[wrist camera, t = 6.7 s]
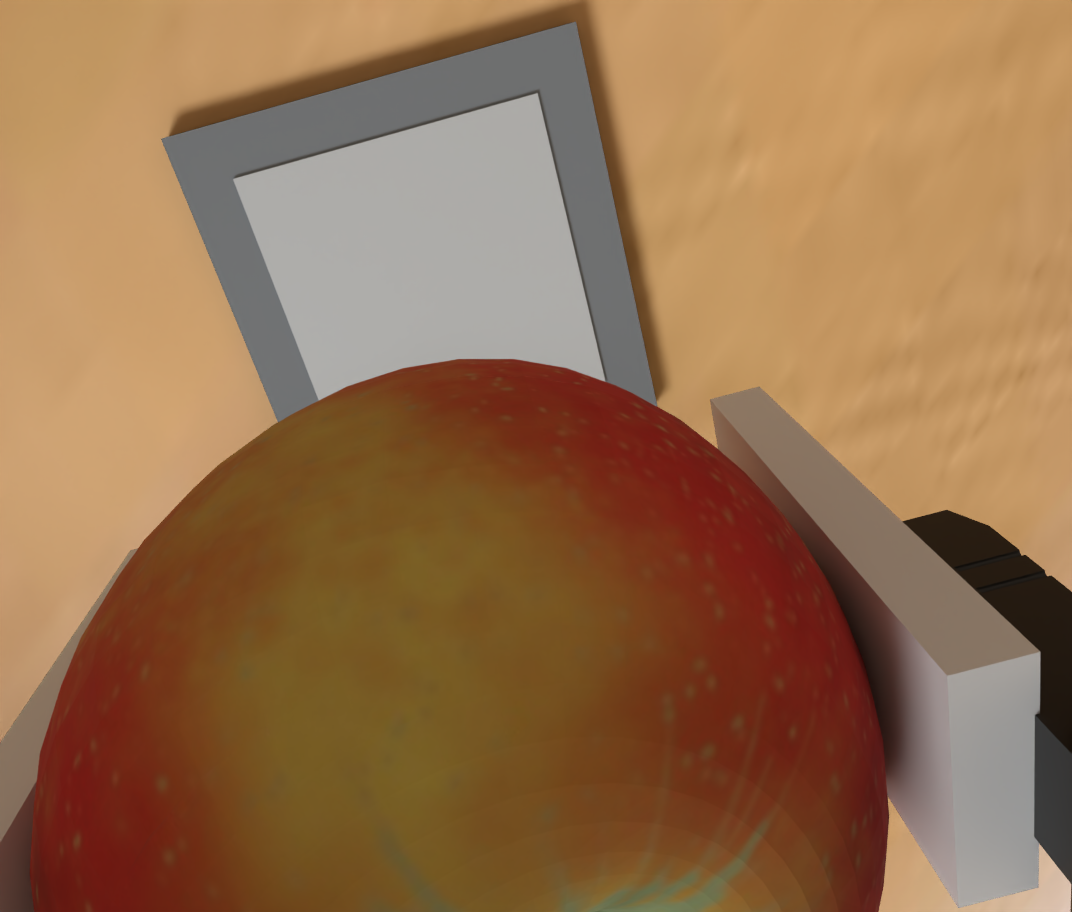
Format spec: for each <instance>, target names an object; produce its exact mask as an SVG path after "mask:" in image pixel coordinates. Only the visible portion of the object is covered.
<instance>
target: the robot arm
mask: <svg viewBox="0 0 1072 912" xmlns="http://www.w3.org/2000/svg"><path fill="white" fill-rule="evenodd" d="M710 402H711V408H712V415H713V421H714V427H715V433H716V439H717V445H718V450H719V451H721V452H722V453H723V454H724V455H726V456H727V457H728V458H729V459H730V460H731V461H733V462H734V463H735V464H736V465H737V466H738V467H739V468H741V469H742V470H743V471H744V472H745V473H746V474H747V475H748V476H749V477H750V478H751V479H752V481H753V482H754V483H755V484H756V485H757V486H758V487H759V488H760V489H761V490H762V491H763V493H764V494H765V495H766V496H767V497H768V498H769V499H770V500H771V501H772V502H773V503H774V505H775V506H776V507H777V508H778V509H779V510H780V511H781V512H782V513H783V515H784V516H785V517H786V519H787V520H788V521H789V523H790V524H791V525H792V527H793V528H794V530H795V531H796V532H797V534H798V535H799V536H800V538H801V539H802V540H803V542H804V544H805V545H806V547H807V548H808V550H809V551H810V553H811V555H812V556H813V558H814V559H815V561H816V563H817V564H818V566H819V567H820V569H821V570H822V572H823V574H824V575H825V577H826V578H827V580H828V582H829V583H830V585H831V587H832V589H833V591H834V593H835V595H836V598H837V600H838V602H839V604H840V606H841V608H842V611H843V613H844V615H845V617H846V620H847V622H848V624H849V627H850V629H851V632H852V634H853V637H854V639H855V642H856V644H857V646H858V649H859V651H860V654H861V656H862V659H863V661H864V664H865V668H866V671H867V675H868V679H869V683H870V687H871V691H872V695H873V699H874V704H875V708H876V712H877V716H878V721H879V725H880V729H881V734H882V738H883V743H884V757H885V771H886V784H887V795H888V797H889V799H890V800H891V802H892V803H893V805H894V807H895V808H896V810H897V811H898V813H899V814H900V816H901V818H902V819H903V821H904V822H905V824H906V826H907V827H908V829H909V830H910V832H911V834H912V835H913V837H914V838H915V840H916V842H917V843H918V845H919V846H920V848H921V850H922V851H923V853H924V854H925V856H926V857H927V859H928V861H929V862H930V864H931V865H932V867H933V869H934V870H935V872H936V873H937V875H938V877H939V878H940V880H941V881H942V883H943V885H944V886H945V888H946V889H947V891H948V892H949V894H950V896H951V897H952V899H953V900H954V902H955V904H956V905H957V907H958V908H960V907H964V906H968V905H972V904H976V903H980V902H984V901H988V900H991V899H995V898H999V897H1003V896H1007V895H1011V894H1015V893H1019V892H1022V891H1026V890H1030V889H1034V888H1038V875H1039V843H1040V845H1041V846H1042V847H1043V849H1044V850H1045V851H1046V852H1047V854H1048V855H1049V856H1050V857H1051V859H1052V860H1053V861H1054V862H1055V864H1056V865H1057V866H1058V868H1059V869H1060V870H1061V871H1062V873H1063V874H1064V875H1065V876H1066V878H1067V879H1068V880H1069V881H1070V883H1071V912H1072V592H1071V591H1070V590H1069V589H1067V588H1066V587H1065V586H1064V585H1062V584H1061V583H1060V582H1059V581H1057V580H1056V579H1055V578H1054V577H1052V576H1046V574H1045V570H1044V569H1042V568H1041V567H1040V566H1039V565H1037V564H1036V563H1035V562H1034V561H1032V560H1031V559H1030V558H1029V557H1027V556H1026V555H1023V556H1021V554H1020V551H1019V549H1017V548H1016V547H1015V546H1014V545H1012V544H1011V543H1010V542H1009V541H1007V540H1006V539H1005V538H1004V537H1002V536H1001V535H1000V534H999V533H997V532H996V531H995V530H994V529H992V528H991V527H990V526H988V525H985V524H983V523H980V522H977V521H975V520H972V519H970V518H967V517H964V516H962V515H959V514H956V513H954V512H951V511H948V510H944V511H941V512H937V513H933V514H929V515H925V516H921V517H918V518H914V519H910V520H906V521H901V520H900V519H899V518H898V517H897V516H896V515H895V514H894V513H893V512H892V511H891V510H890V509H888V508H887V507H886V506H885V505H884V504H883V503H882V502H881V501H880V500H879V499H878V498H877V497H876V496H875V495H874V494H873V493H872V492H870V491H869V490H868V489H867V488H866V487H865V486H864V485H863V484H862V483H861V482H860V481H859V480H858V479H857V478H856V477H855V476H854V475H852V474H851V473H850V472H849V471H848V470H847V469H846V468H845V467H844V466H843V465H842V464H841V463H840V462H839V461H838V460H837V459H835V458H834V457H833V456H832V455H831V454H830V453H829V452H828V451H827V450H826V449H825V448H824V447H823V446H822V445H821V444H820V443H819V442H817V441H816V440H815V439H814V438H813V437H812V436H811V435H810V434H809V433H808V432H807V431H806V430H805V429H804V428H803V427H802V426H800V425H799V424H798V423H797V422H796V421H795V420H794V419H793V418H792V417H791V416H790V415H789V414H788V413H787V412H786V411H785V410H784V409H782V408H781V407H780V406H779V405H778V404H777V403H776V402H775V401H774V400H773V399H772V398H771V397H770V396H769V395H768V394H767V393H766V392H764V391H763V390H762V389H761V388H760V387H756V388H752V389H748V390H744V391H740V392H737V393H733V394H729V395H725V396H721V397H717V398H714V399H710ZM137 550H138V549H134V550H131V551H130V552H129V553H128V555H127V556H126V558H125V559H124V561H123V562H122V564H121V565H120V567H119V568H118V570H117V571H116V573H115V574H114V576H113V577H112V579H111V580H110V581H109V583H108V584H107V586H106V587H105V589H104V590H103V592H102V593H101V595H100V596H99V598H98V599H97V601H96V602H95V604H94V605H93V607H92V608H91V610H90V611H89V612H88V614H87V615H86V617H85V618H84V620H83V621H82V623H81V624H80V626H79V627H78V629H77V630H76V632H75V633H74V635H73V636H72V638H71V639H70V640H69V642H68V643H67V645H66V646H65V648H64V649H63V651H62V652H61V654H60V655H59V657H58V658H57V660H56V661H55V663H54V664H53V666H52V667H51V669H50V670H49V671H48V673H47V674H46V676H45V677H44V679H43V680H42V682H41V683H40V685H39V686H38V688H37V689H36V691H35V692H34V694H33V695H32V697H31V698H30V700H29V701H28V702H27V704H26V705H25V707H24V708H23V710H22V711H21V713H20V714H19V716H18V717H17V719H16V720H15V722H14V723H13V725H12V726H11V728H10V729H9V730H8V732H7V733H6V735H5V736H4V738H3V739H2V741H1V742H0V912H34V906H33V897H32V889H31V881H30V858H31V843H32V827H33V811H34V800H35V791H36V783H37V774H38V765H39V756H40V751H41V748H42V745H43V741H44V738H45V735H46V732H47V729H48V726H49V722H50V719H51V716H52V713H53V710H54V707H55V704H56V700H57V697H58V694H59V691H60V688H61V685H62V682H63V680H64V677H65V675H66V672H67V670H68V668H69V665H70V663H71V660H72V658H73V655H74V653H75V651H76V648H77V646H78V643H79V641H80V638H81V637H82V635H83V633H84V632H85V630H86V628H87V627H88V625H89V623H90V622H91V620H92V618H93V617H94V615H95V614H96V612H97V610H98V609H99V607H100V605H101V604H102V602H103V600H104V599H105V597H106V595H107V594H108V592H109V591H110V589H111V587H112V586H113V584H114V582H115V581H116V579H117V577H118V576H119V574H120V573H121V572H122V570H123V569H124V567H125V566H126V565H127V563H128V562H129V561H130V559H131V558H132V556H133V555H134V554H135V552H136V551H137Z"/></svg>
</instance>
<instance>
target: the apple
mask: <svg viewBox="0 0 1072 912" xmlns="http://www.w3.org/2000/svg"><path fill="white" fill-rule="evenodd" d="M888 824H889V810H888V797H887V784H886V771H885V757H884V743H883V738H882V734H881V729H880V725H879V721H878V716H877V712H876V708H875V704H874V699H873V695H872V691H871V687H870V683H869V679H868V675H867V671H866V668H865V664H864V661H863V659H862V656H861V654H860V651H859V649H858V646H857V644H856V642H855V639H854V637H853V634H852V632H851V629H850V627H849V624H848V622H847V620H846V617H845V615H844V613H843V611H842V608H841V606H840V604H839V602H838V600H837V598H836V595H835V593H834V591H833V589H832V587H831V585H830V583H829V582H828V580H827V578H826V577H825V575H824V574H823V572H822V570H821V569H820V567H819V566H818V564H817V563H816V561H815V559H814V558H813V556H812V555H811V553H810V551H809V550H808V548H807V547H806V545H805V544H804V542H803V540H802V539H801V538H800V536H799V535H798V534H797V532H796V531H795V530H794V528H793V527H792V525H791V524H790V523H789V521H788V520H787V519H786V517H785V516H784V515H783V513H782V512H781V511H780V510H779V509H778V508H777V507H776V506H775V505H774V503H773V502H772V501H771V500H770V499H769V498H768V497H767V496H766V495H765V494H764V493H763V491H762V490H761V489H760V488H759V487H758V486H757V485H756V484H755V483H754V482H753V481H752V479H751V478H750V477H749V476H748V475H747V474H746V473H745V472H744V471H743V470H742V469H741V468H739V467H738V466H737V465H736V464H735V463H734V462H733V461H731V460H730V459H729V458H728V457H727V456H726V455H724V454H723V453H722V452H721V451H719V450H718V449H717V448H716V447H714V446H713V445H712V444H711V443H709V442H708V441H707V440H705V439H704V438H703V437H702V436H700V435H699V434H698V433H697V432H695V431H694V430H693V429H691V428H690V427H689V426H688V425H686V424H685V423H684V422H682V421H681V420H680V419H678V418H676V417H675V416H673V415H671V414H669V413H667V412H666V411H664V410H662V409H660V408H658V407H657V406H655V405H653V404H651V403H649V402H648V401H646V400H644V399H642V398H640V397H639V396H637V395H635V394H633V393H631V392H629V391H627V390H625V389H623V388H620V387H618V386H616V385H613V384H611V383H608V382H605V381H602V380H599V379H596V378H593V377H591V376H588V375H585V374H582V373H579V372H576V371H574V370H571V369H568V368H564V367H558V366H552V365H546V364H540V363H535V362H529V361H523V360H517V359H456V360H450V361H444V362H438V363H431V364H425V365H419V366H413V367H407V368H402V369H399V370H396V371H393V372H390V373H387V374H383V375H380V376H377V377H374V378H371V379H368V380H365V381H362V382H359V383H356V384H353V385H350V386H347V387H345V388H343V389H341V390H339V391H337V392H335V393H333V394H331V395H329V396H327V397H325V398H323V399H321V400H319V401H317V402H315V403H313V404H311V405H309V406H307V407H305V408H303V409H301V410H299V411H297V412H295V413H293V414H292V415H290V416H288V417H286V418H285V419H283V420H281V421H280V422H278V423H276V424H274V425H273V426H271V427H270V428H269V429H267V430H266V431H264V432H263V433H262V434H260V435H259V436H258V437H256V438H255V439H253V440H252V441H251V442H249V443H248V444H247V445H245V446H244V447H242V448H241V449H240V450H238V451H237V452H236V453H234V454H233V455H231V456H230V457H229V458H227V459H226V460H225V461H223V462H222V463H220V464H219V465H218V466H217V467H216V468H215V469H214V470H213V471H212V472H210V473H209V474H208V475H207V476H206V477H205V478H204V479H203V480H202V481H201V482H200V483H199V484H198V485H197V486H195V487H194V488H193V489H192V490H191V492H190V493H189V494H188V495H187V496H186V497H185V498H184V499H183V500H182V501H181V502H180V503H179V504H178V505H177V506H176V507H175V508H174V509H173V510H172V511H171V513H170V514H169V515H168V516H167V517H166V518H165V519H164V520H163V521H162V522H161V523H160V524H159V525H158V526H157V527H156V528H155V529H154V530H153V531H152V533H151V534H150V535H149V536H148V537H147V538H146V539H145V540H144V541H143V543H142V544H141V545H140V547H139V548H138V550H137V551H136V552H135V554H134V555H133V556H132V558H131V559H130V561H129V562H128V563H127V565H126V566H125V567H124V569H123V570H122V572H121V573H120V574H119V576H118V577H117V579H116V581H115V582H114V584H113V586H112V587H111V589H110V591H109V592H108V594H107V595H106V597H105V599H104V600H103V602H102V604H101V605H100V607H99V609H98V610H97V612H96V614H95V615H94V617H93V618H92V620H91V622H90V623H89V625H88V627H87V628H86V630H85V632H84V633H83V635H82V637H81V638H80V641H79V643H78V646H77V648H76V651H75V653H74V655H73V658H72V660H71V663H70V665H69V668H68V670H67V672H66V675H65V677H64V680H63V682H62V685H61V688H60V691H59V694H58V697H57V700H56V704H55V707H54V710H53V713H52V716H51V719H50V722H49V726H48V729H47V732H46V735H45V738H44V741H43V745H42V748H41V751H40V756H39V765H38V774H37V783H36V791H35V800H34V811H33V827H32V843H31V858H30V881H31V889H32V897H33V906H34V912H878V911H879V906H880V901H881V896H882V891H883V885H884V874H885V863H886V851H887V837H888Z"/></svg>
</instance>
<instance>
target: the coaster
mask: <svg viewBox="0 0 1072 912" xmlns="http://www.w3.org/2000/svg"><path fill="white" fill-rule="evenodd" d="M161 140H162V142H163V145H164V147H165V150H166V152H167V154H168V157H169V159H170V162H171V164H172V167H173V169H174V171H175V174H176V176H177V179H178V181H179V183H180V186H181V188H182V191H183V193H184V196H185V198H186V200H187V203H188V205H189V208H190V210H191V212H192V215H193V217H194V220H195V222H196V225H197V227H198V229H199V232H200V234H201V237H202V239H203V242H204V244H205V246H206V249H207V251H208V254H209V256H210V258H211V261H212V263H213V266H214V268H215V271H216V273H217V275H218V278H219V280H220V283H221V285H222V287H223V290H224V292H225V295H226V297H227V300H228V302H229V304H230V307H231V309H232V312H233V314H234V317H235V319H236V321H237V324H238V326H239V329H240V331H241V333H242V336H243V338H244V341H245V343H246V346H247V348H248V350H249V353H250V355H251V358H252V360H253V362H254V365H255V367H256V370H257V372H258V375H259V377H260V379H261V382H262V384H263V387H264V389H265V392H266V394H267V396H268V399H269V401H270V404H271V406H272V408H273V411H274V413H275V416H276V418H277V421H278V422H280V421H281V420H283V419H285V418H286V417H288V416H290V415H292V414H293V413H295V412H297V411H299V410H301V409H303V408H305V407H307V406H309V405H311V404H313V403H315V402H317V401H319V400H321V399H323V398H325V397H327V396H329V395H331V394H333V393H335V392H337V391H339V390H341V389H343V388H345V387H347V386H350V385H353V384H356V383H359V382H362V381H365V380H368V379H371V378H374V377H377V376H380V375H383V374H387V373H390V372H393V371H396V370H399V369H402V368H407V367H413V366H419V365H425V364H431V363H438V362H444V361H450V360H456V359H517V360H523V361H529V362H535V363H540V364H546V365H552V366H558V367H564V368H568V369H571V370H574V371H576V372H579V373H582V374H585V375H588V376H591V377H593V378H596V379H599V380H602V381H605V382H608V383H611V384H613V385H616V386H618V387H620V388H623V389H625V390H627V391H629V392H631V393H633V394H635V395H637V396H639V397H640V398H642V399H644V400H646V401H648V402H649V403H651V404H653V405H655V406H657V403H656V398H655V393H654V389H653V384H652V379H651V374H650V370H649V365H648V360H647V355H646V351H645V346H644V341H643V337H642V332H641V327H640V322H639V318H638V313H637V308H636V303H635V299H634V294H633V289H632V285H631V280H630V275H629V270H628V266H627V261H626V256H625V251H624V247H623V242H622V237H621V233H620V228H619V223H618V218H617V214H616V209H615V204H614V199H613V195H612V190H611V185H610V181H609V176H608V171H607V166H606V162H605V157H604V152H603V147H602V143H601V138H600V133H599V129H598V124H597V119H596V114H595V110H594V105H593V100H592V95H591V91H590V86H589V81H588V77H587V72H586V67H585V62H584V58H583V53H582V48H581V43H580V39H579V34H578V29H577V25H576V22H573V23H569V24H566V25H562V26H559V27H555V28H551V29H548V30H544V31H541V32H537V33H534V34H530V35H527V36H523V37H520V38H516V39H513V40H509V41H505V42H502V43H498V44H495V45H491V46H488V47H484V48H481V49H477V50H474V51H470V52H467V53H463V54H459V55H456V56H452V57H449V58H445V59H442V60H438V61H435V62H431V63H428V64H424V65H421V66H417V67H414V68H410V69H406V70H403V71H399V72H396V73H392V74H389V75H385V76H382V77H378V78H375V79H371V80H368V81H364V82H360V83H357V84H353V85H350V86H346V87H343V88H339V89H336V90H332V91H329V92H325V93H322V94H318V95H314V96H311V97H307V98H304V99H300V100H297V101H293V102H290V103H286V104H283V105H279V106H276V107H272V108H269V109H265V110H261V111H258V112H254V113H251V114H247V115H244V116H240V117H237V118H233V119H230V120H226V121H223V122H219V123H215V124H212V125H208V126H205V127H201V128H198V129H194V130H191V131H187V132H184V133H180V134H177V135H173V136H169V137H166V138H162V139H161Z"/></svg>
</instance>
